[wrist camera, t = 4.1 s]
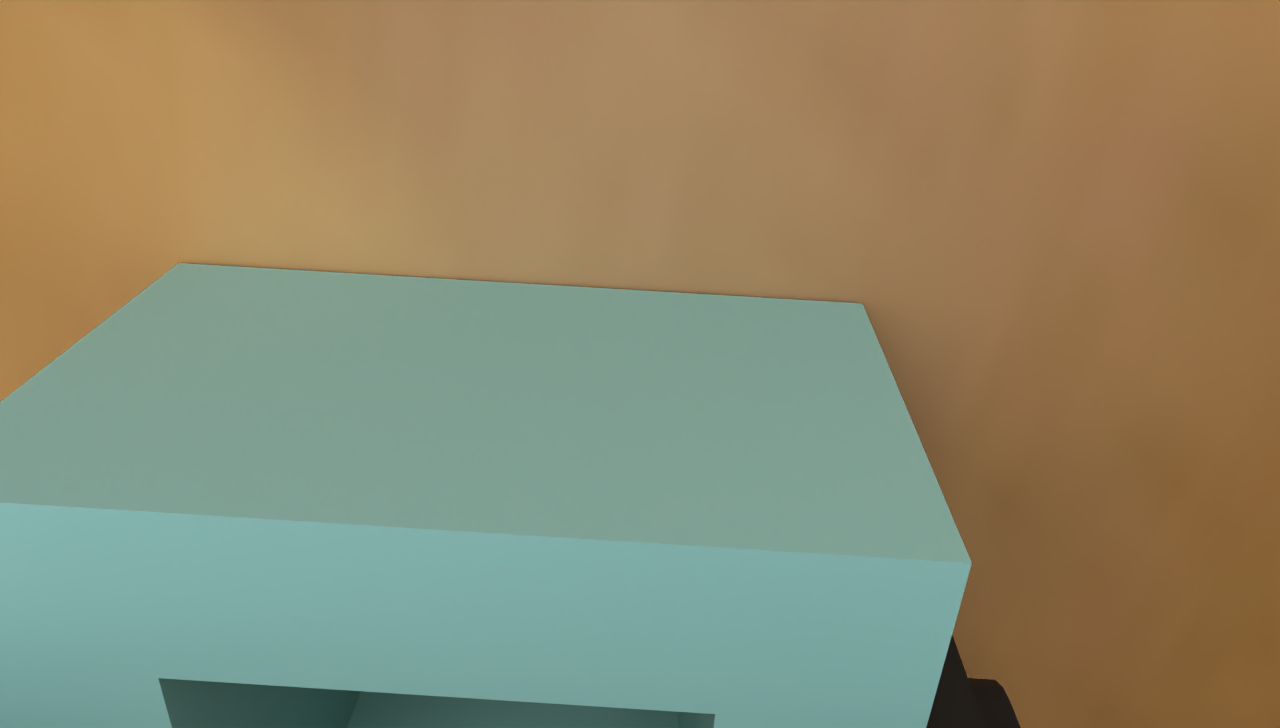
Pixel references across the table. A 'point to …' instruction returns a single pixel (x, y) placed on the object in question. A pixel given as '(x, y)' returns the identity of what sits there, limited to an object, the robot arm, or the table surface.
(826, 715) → the collar
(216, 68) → the table surface
